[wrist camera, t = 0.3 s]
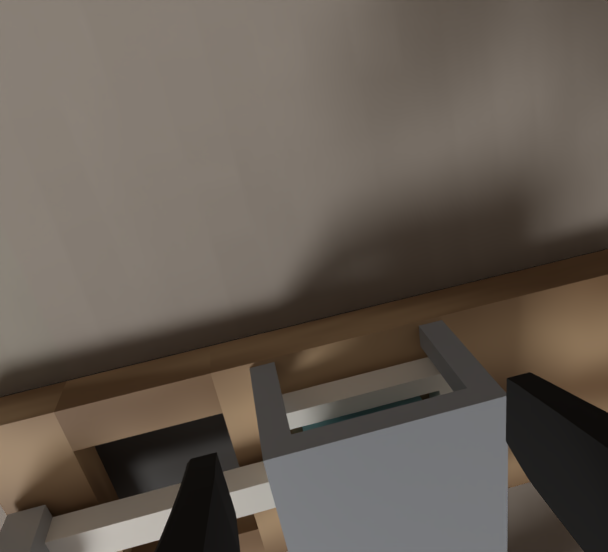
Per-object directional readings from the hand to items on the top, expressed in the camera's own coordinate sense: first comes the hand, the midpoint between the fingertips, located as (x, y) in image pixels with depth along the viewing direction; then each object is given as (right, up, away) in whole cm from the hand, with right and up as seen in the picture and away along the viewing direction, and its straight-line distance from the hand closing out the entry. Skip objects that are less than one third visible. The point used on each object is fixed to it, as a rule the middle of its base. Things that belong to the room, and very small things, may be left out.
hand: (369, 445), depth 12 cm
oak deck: (+1, -3, +12) cm, 12 cm away
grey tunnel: (+1, -3, +10) cm, 11 cm away
